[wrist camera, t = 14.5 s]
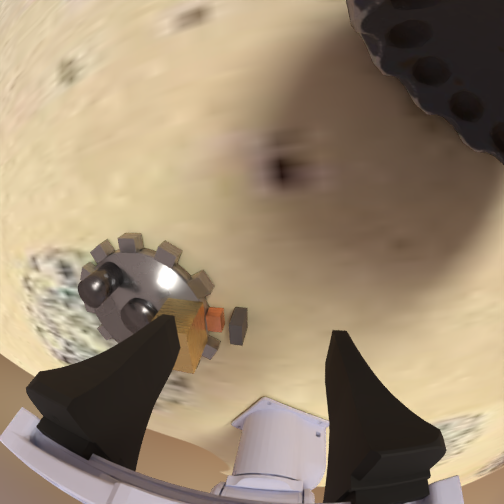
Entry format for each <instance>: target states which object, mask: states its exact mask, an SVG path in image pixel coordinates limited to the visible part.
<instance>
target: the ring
mask: <svg viewBox="0 0 504 504" xmlns="http://www.w3.org/2000/svg"><path fill="white" fill-rule="evenodd" d="M346 3H347V7H348V12H349V17H350V22H351V26H352V27H353V28H354V30H355V31H356V32H358V33H359V34H360V36H361V38H362V39H363V41H364V43H365V45H366V47H367V50H368V52H369V54H370V57H371V59H372V62H373V63H374V65H375V66H376V67H377V68H378V69H379V70H380V71H381V73H382V74H383V75H387V76H394V77H396V78H397V79H399V81H400V82H401V83H402V84H403V85H404V86H405V88H406V90H407V91H408V93H409V95H410V97H411V98H412V100H413V102H414V104H416V105H417V106H418V107H419V108H420V109H421V110H423V111H424V112H425V113H426V114H434V115H439V116H441V117H444V118H445V119H446V120H447V121H448V122H449V123H450V124H451V125H452V126H453V127H454V129H455V130H456V131H457V133H458V135H459V137H460V138H461V140H462V142H463V143H464V144H465V145H467V146H468V147H469V148H471V149H472V150H473V151H476V152H487V153H489V154H491V155H493V156H495V157H496V158H497V159H498V160H499V161H500V162H501V163H502V164H503V165H504V0H346Z"/></svg>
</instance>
